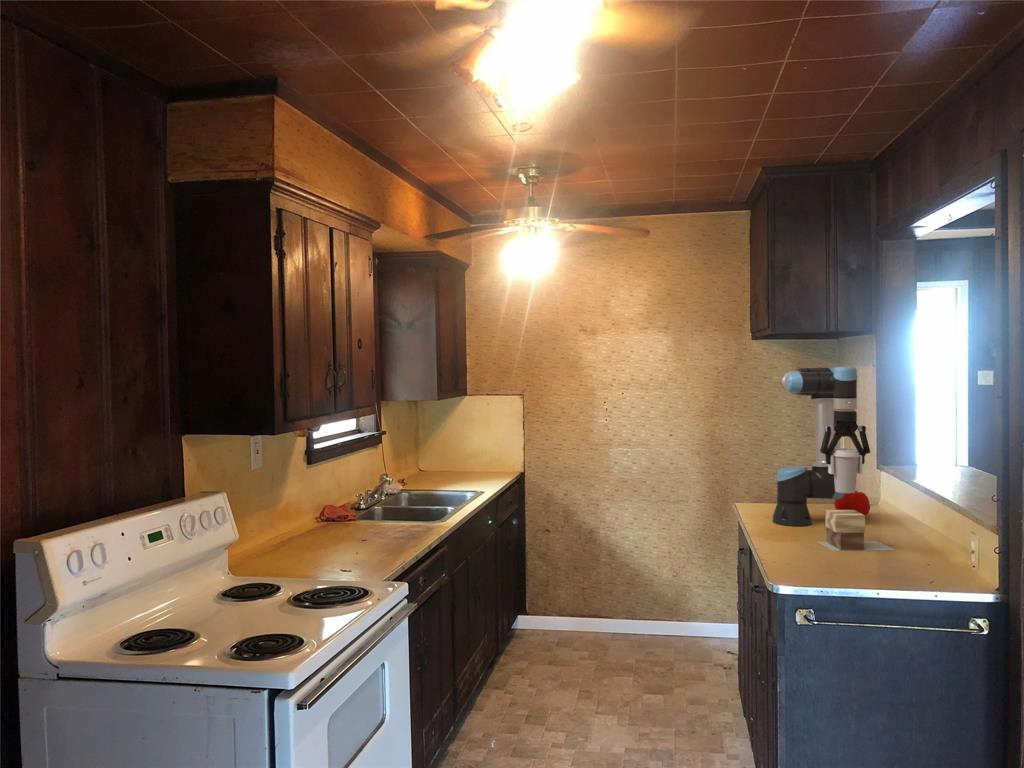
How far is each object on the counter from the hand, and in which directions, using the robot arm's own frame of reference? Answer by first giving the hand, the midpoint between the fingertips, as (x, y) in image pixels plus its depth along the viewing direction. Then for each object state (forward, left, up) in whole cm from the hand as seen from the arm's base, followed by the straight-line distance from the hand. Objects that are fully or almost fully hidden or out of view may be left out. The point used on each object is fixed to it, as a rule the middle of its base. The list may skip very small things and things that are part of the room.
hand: (845, 473), depth 268 cm
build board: (-1, +4, -27) cm, 27 cm away
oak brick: (0, 0, -20) cm, 20 cm away
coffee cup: (0, 0, -7) cm, 7 cm away
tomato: (-57, +28, -27) cm, 69 cm away
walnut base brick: (0, 0, -26) cm, 26 cm away
